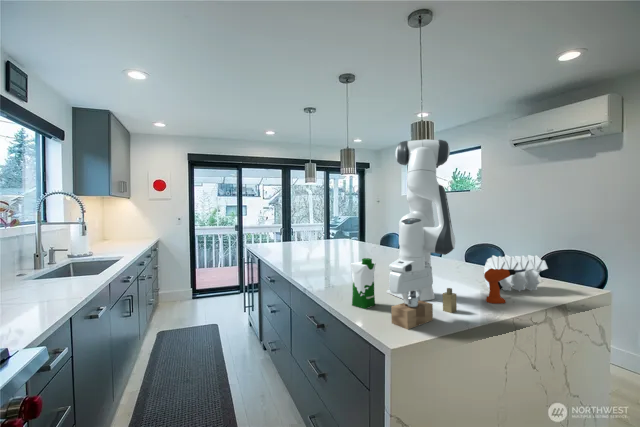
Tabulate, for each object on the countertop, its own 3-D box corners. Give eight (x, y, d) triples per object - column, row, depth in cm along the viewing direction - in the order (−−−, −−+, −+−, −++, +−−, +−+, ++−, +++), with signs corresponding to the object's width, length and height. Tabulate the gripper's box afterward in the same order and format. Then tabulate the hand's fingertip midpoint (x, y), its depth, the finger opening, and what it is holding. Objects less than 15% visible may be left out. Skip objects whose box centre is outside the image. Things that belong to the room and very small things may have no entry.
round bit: (405, 315, 108) (405, 291, 107) (411, 313, 110) (412, 289, 109) (413, 318, 105) (413, 293, 104) (419, 316, 107) (420, 291, 106)
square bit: (442, 310, 118) (442, 288, 118) (448, 309, 120) (447, 286, 120) (451, 313, 115) (451, 290, 115) (456, 311, 118) (456, 288, 117)
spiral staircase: (483, 297, 150) (530, 293, 151) (502, 290, 134) (556, 285, 135) (472, 261, 158) (517, 258, 159) (489, 251, 142) (540, 247, 143)
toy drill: (533, 299, 127) (528, 264, 127) (490, 306, 126) (486, 271, 126) (524, 295, 132) (520, 262, 132) (483, 302, 131) (479, 268, 131)
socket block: (391, 323, 106) (391, 306, 106) (416, 315, 114) (416, 299, 114) (407, 329, 100) (407, 311, 100) (432, 320, 108) (432, 303, 108)
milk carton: (365, 310, 121) (365, 260, 120) (348, 305, 127) (347, 258, 127) (378, 305, 127) (377, 258, 127) (361, 300, 133) (360, 256, 133)
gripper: (422, 259, 116) (422, 295, 116) (385, 265, 104) (386, 305, 104) (436, 261, 110) (437, 298, 111) (400, 268, 99) (400, 310, 99)
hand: (412, 302), depth 107 cm, fingers open, 4 cm apart
